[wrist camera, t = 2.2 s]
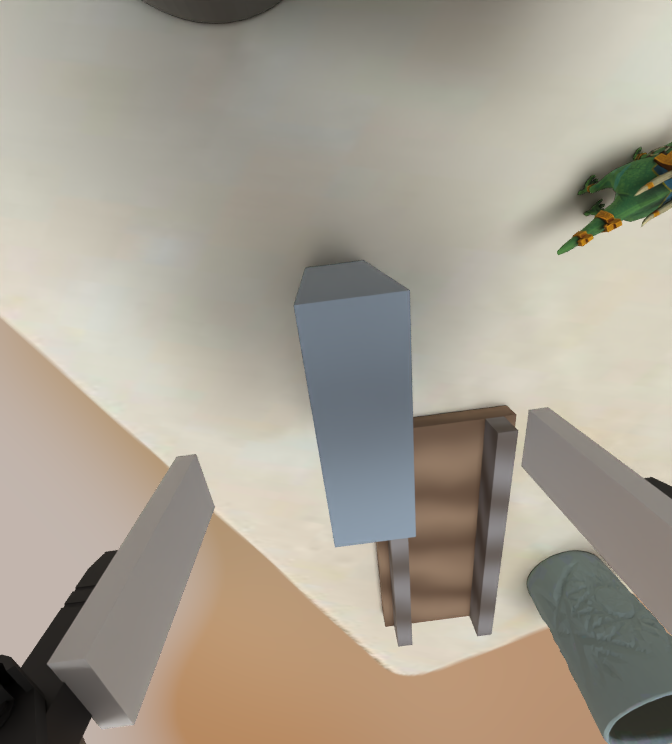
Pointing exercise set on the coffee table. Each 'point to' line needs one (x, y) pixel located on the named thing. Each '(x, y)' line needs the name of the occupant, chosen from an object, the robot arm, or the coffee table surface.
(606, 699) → the grey green cup
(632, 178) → the figurine
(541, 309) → the coffee table surface
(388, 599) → the door track
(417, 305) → the coffee table surface
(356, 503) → the door panel
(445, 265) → the coffee table surface
